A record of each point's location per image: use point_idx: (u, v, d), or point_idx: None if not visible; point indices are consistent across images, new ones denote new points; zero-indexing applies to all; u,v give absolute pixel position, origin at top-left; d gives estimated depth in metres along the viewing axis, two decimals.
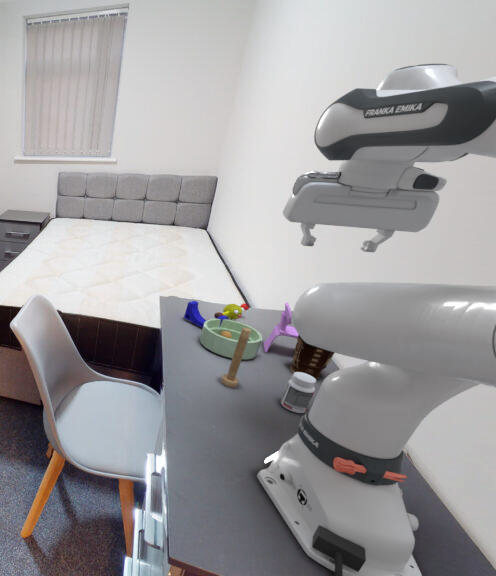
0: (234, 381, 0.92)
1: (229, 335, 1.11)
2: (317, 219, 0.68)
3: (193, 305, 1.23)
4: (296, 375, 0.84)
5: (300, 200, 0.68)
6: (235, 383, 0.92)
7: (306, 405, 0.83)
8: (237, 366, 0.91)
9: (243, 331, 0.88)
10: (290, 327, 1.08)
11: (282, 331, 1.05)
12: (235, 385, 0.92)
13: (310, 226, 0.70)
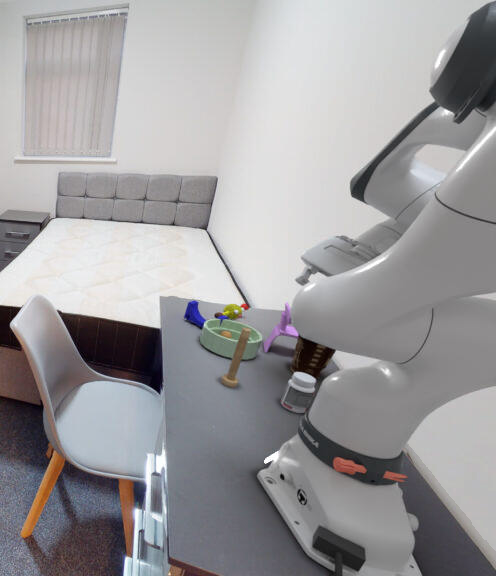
0: (234, 381, 0.92)
1: (229, 335, 1.11)
2: (315, 260, 0.84)
3: (193, 305, 1.23)
4: (296, 375, 0.84)
5: (317, 244, 0.87)
6: (235, 383, 0.92)
7: (306, 405, 0.83)
8: (237, 366, 0.91)
9: (243, 331, 0.88)
10: (290, 327, 1.08)
11: (282, 331, 1.05)
12: (235, 385, 0.92)
13: (309, 266, 0.85)
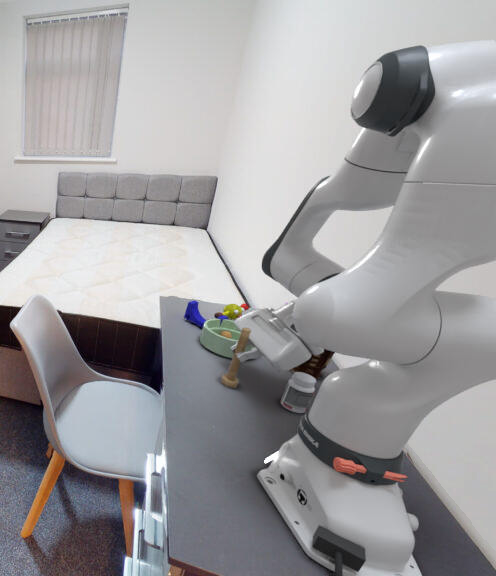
0: (234, 381, 0.92)
1: (229, 335, 1.11)
2: (242, 327, 0.94)
3: (193, 305, 1.23)
4: (296, 375, 0.84)
5: (248, 313, 0.96)
6: (235, 383, 0.92)
7: (306, 405, 0.83)
8: (237, 366, 0.91)
9: (243, 331, 0.88)
10: None
11: None
12: (235, 385, 0.92)
13: None
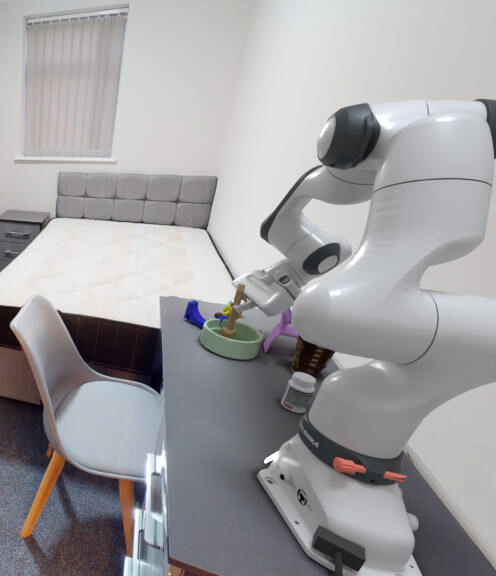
0: (232, 330, 1.09)
1: None
2: None
3: (193, 305, 1.23)
4: (296, 375, 0.84)
5: (244, 274, 1.13)
6: (233, 332, 1.09)
7: (306, 405, 0.83)
8: (235, 317, 1.08)
9: (239, 286, 1.06)
10: (290, 327, 1.08)
11: (282, 331, 1.05)
12: (233, 334, 1.09)
13: None
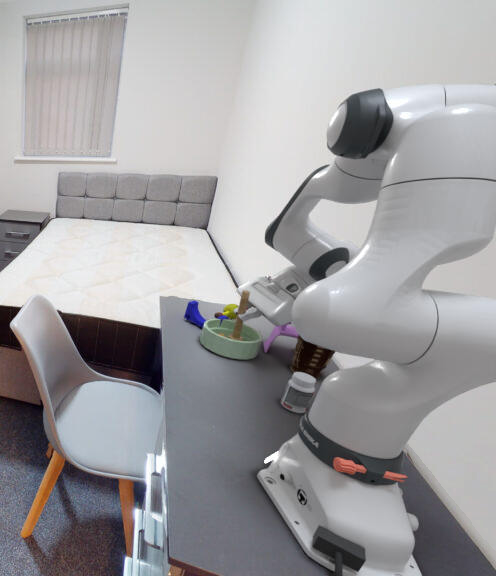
0: (239, 338, 1.05)
1: None
2: None
3: (193, 305, 1.23)
4: (296, 375, 0.84)
5: (249, 281, 1.09)
6: (240, 340, 1.05)
7: (306, 405, 0.83)
8: (241, 325, 1.04)
9: (243, 293, 1.01)
10: (290, 327, 1.08)
11: (282, 331, 1.05)
12: None
13: None
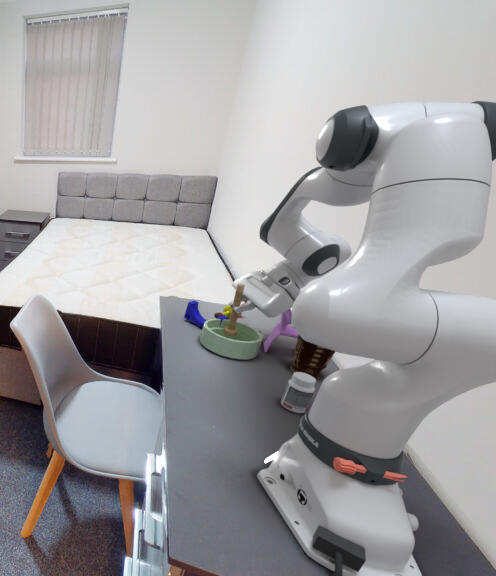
0: (234, 330, 1.10)
1: None
2: None
3: (193, 305, 1.23)
4: (296, 375, 0.84)
5: (244, 275, 1.13)
6: (235, 332, 1.09)
7: (306, 405, 0.83)
8: (236, 317, 1.09)
9: (238, 286, 1.06)
10: (290, 327, 1.08)
11: (282, 331, 1.05)
12: (235, 333, 1.10)
13: None
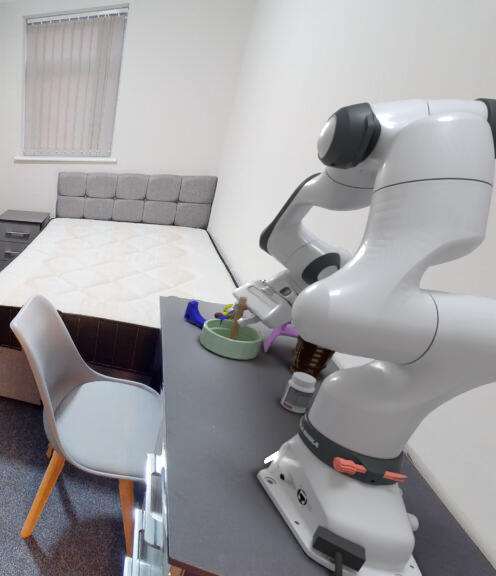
0: None
1: None
2: (240, 295, 1.10)
3: (193, 305, 1.23)
4: (296, 375, 0.84)
5: None
6: None
7: (306, 405, 0.83)
8: (237, 330, 1.07)
9: (240, 299, 1.04)
10: (290, 327, 1.08)
11: (282, 331, 1.05)
12: None
13: (237, 302, 1.09)
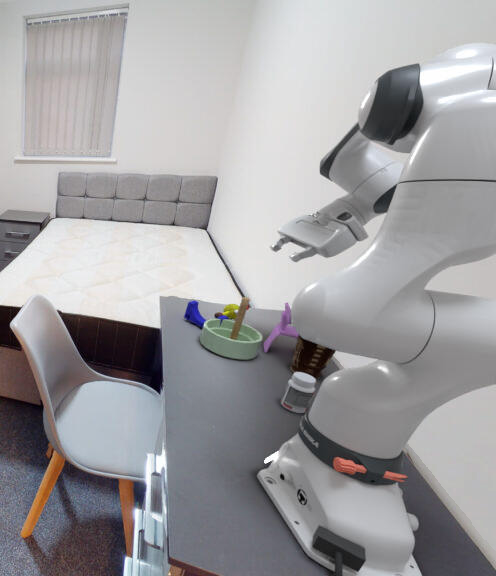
0: None
1: None
2: (287, 231, 1.02)
3: (193, 305, 1.23)
4: (296, 375, 0.84)
5: None
6: None
7: (306, 405, 0.83)
8: (238, 330, 1.07)
9: (243, 300, 1.04)
10: (290, 327, 1.08)
11: (282, 331, 1.05)
12: None
13: (282, 236, 1.03)
